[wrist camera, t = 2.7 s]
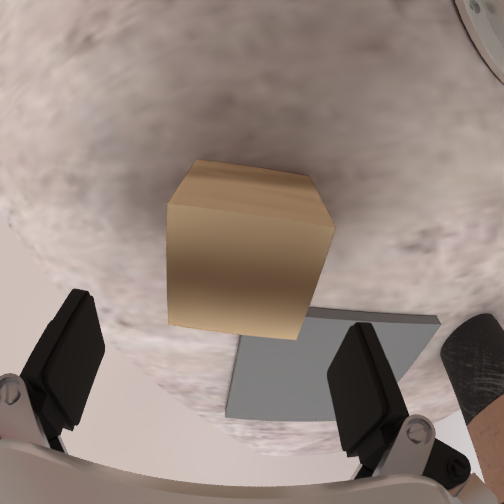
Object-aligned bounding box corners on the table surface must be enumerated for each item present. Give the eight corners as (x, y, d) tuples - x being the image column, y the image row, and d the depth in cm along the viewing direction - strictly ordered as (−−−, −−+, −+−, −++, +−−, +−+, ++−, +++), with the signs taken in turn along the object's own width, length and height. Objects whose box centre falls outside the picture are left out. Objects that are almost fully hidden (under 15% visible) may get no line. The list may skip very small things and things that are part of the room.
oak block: (196, 158, 15) (167, 203, 10) (309, 175, 16) (335, 227, 11) (190, 254, 18) (168, 324, 13) (286, 267, 19) (296, 340, 14)
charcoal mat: (247, 300, 20) (247, 310, 19) (436, 316, 21) (441, 324, 20) (225, 409, 29) (225, 417, 28) (363, 412, 30) (364, 419, 29)
